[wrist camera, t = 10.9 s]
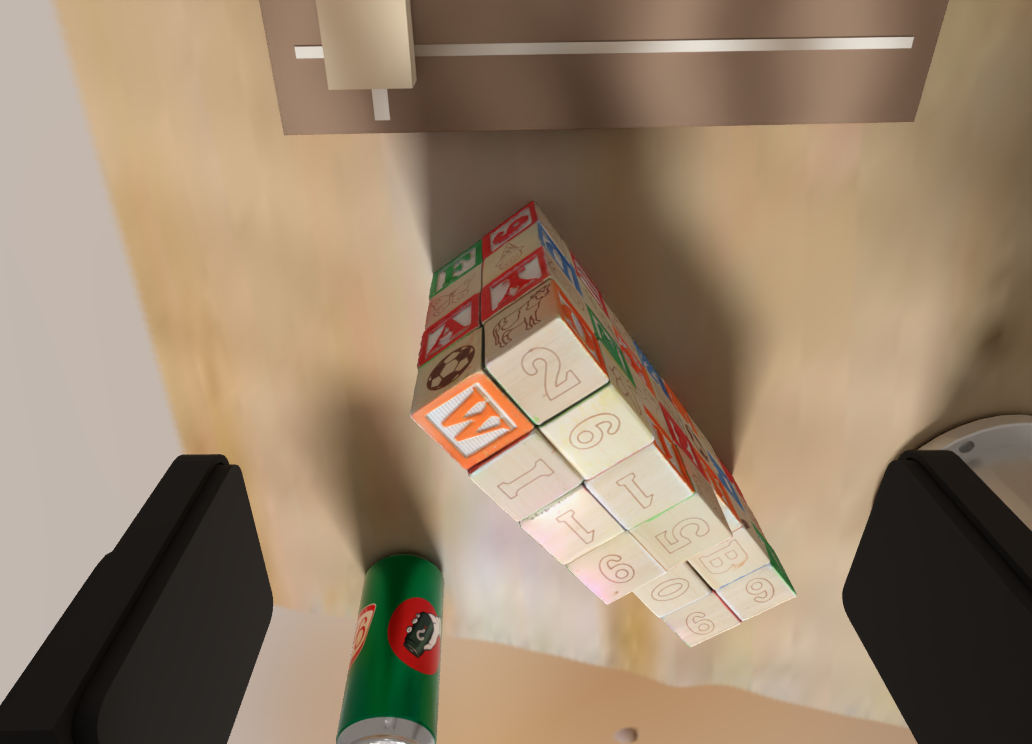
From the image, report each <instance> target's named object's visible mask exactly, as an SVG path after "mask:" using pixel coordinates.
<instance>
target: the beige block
mask: <svg viewBox="0 0 1032 744" xmlns="http://www.w3.org/2000/svg"><path fill="white" fill-rule="evenodd" d="M316 6H317V13H318V20H319V27H320V34H321V41H322V48H323V54H324V61H325V68H326V75H327V82H328V89H329V90H350V89H403V88H413V87H414V85H415V82H416V80H417V78H416V65H415V53H414V40H413V28H412V16H411V3H410V0H316Z"/></svg>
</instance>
